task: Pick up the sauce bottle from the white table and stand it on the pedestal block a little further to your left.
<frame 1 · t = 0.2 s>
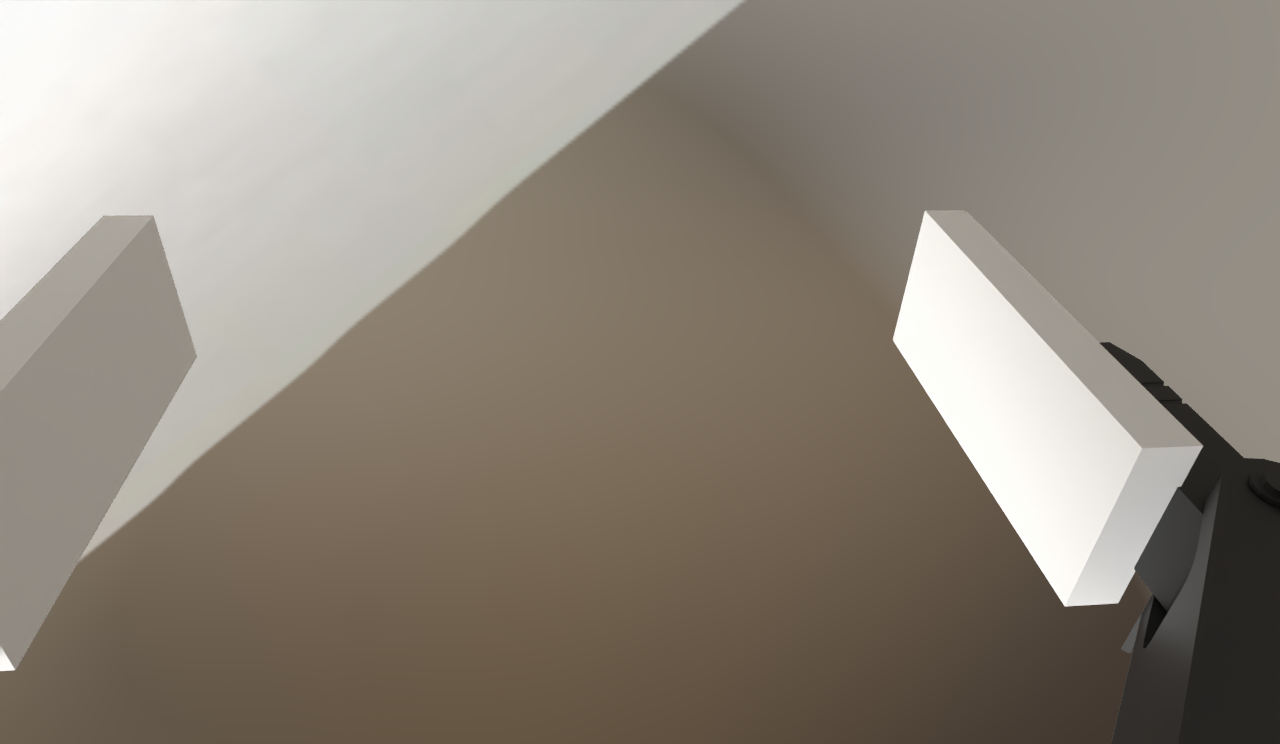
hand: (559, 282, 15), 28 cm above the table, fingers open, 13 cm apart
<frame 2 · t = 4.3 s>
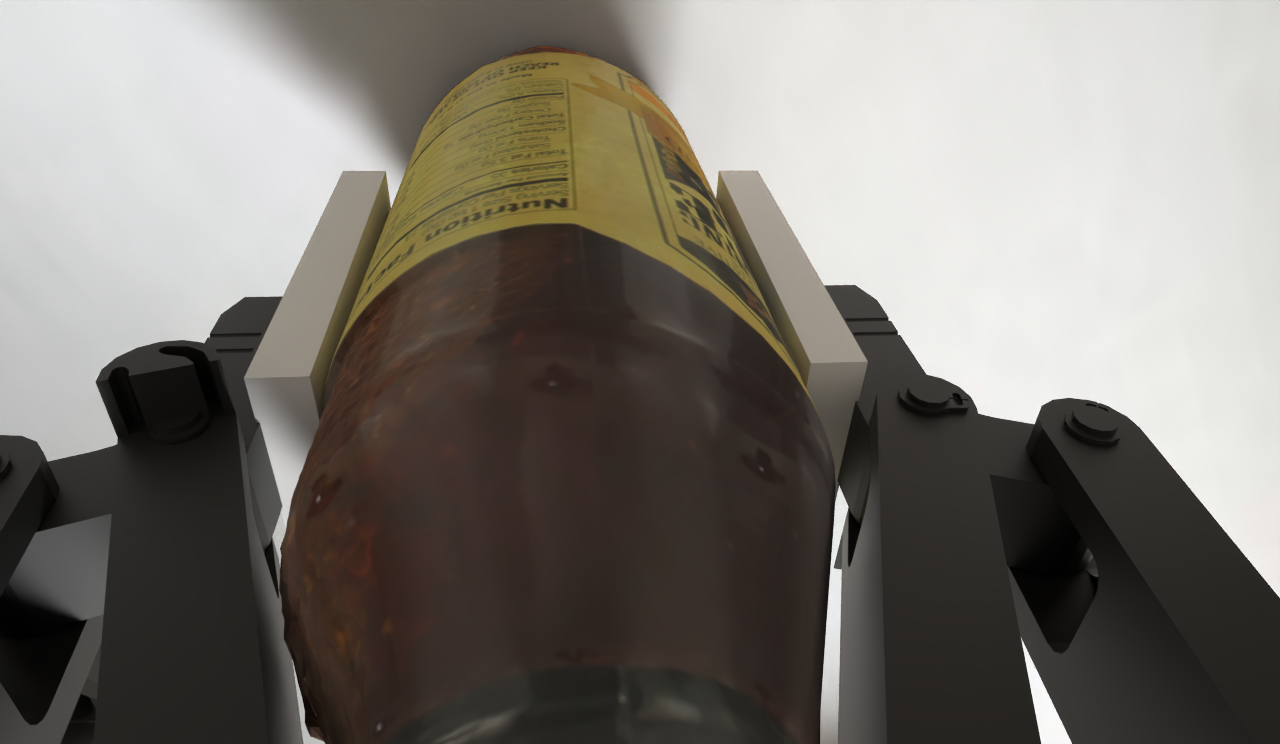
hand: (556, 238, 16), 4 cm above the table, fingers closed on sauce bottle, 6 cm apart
sauce bottle: (552, 160, 20), on the table, touching gripper
when the fingers open (8 cm above the table, at t = 11.2 s): sauce bottle stays where it is, resting on pedestal.
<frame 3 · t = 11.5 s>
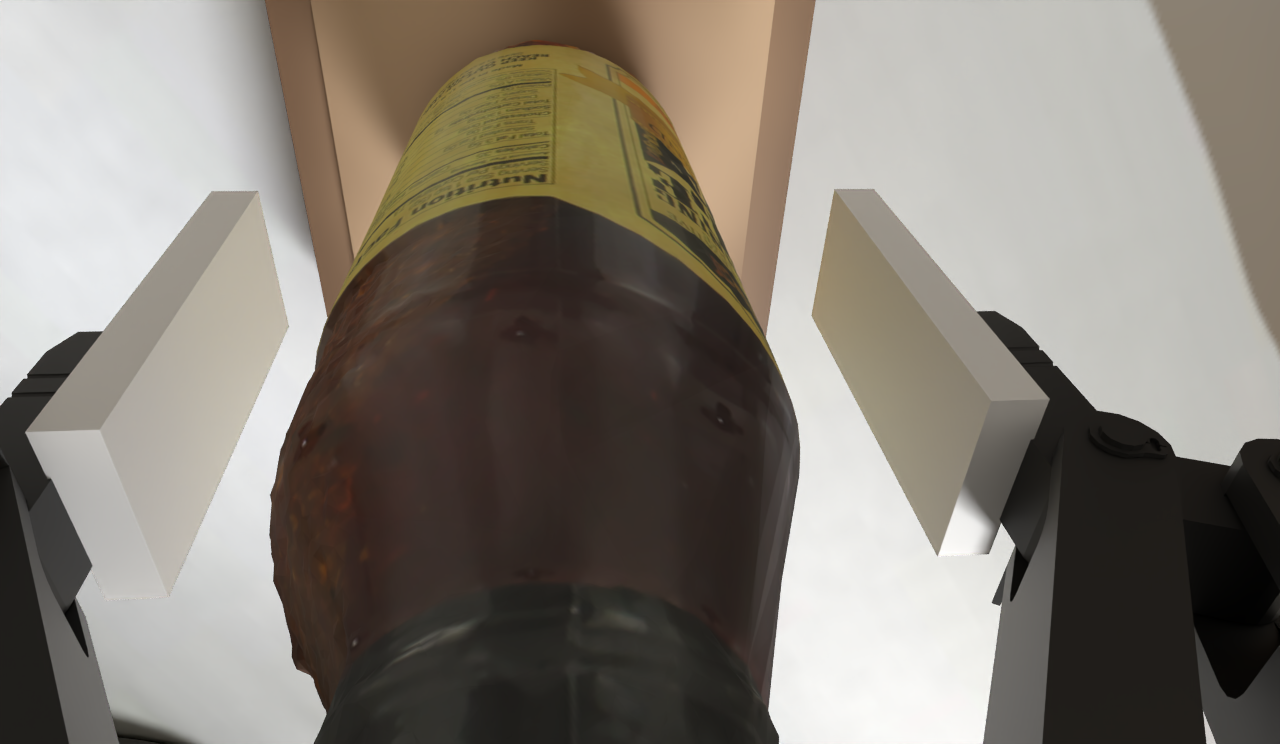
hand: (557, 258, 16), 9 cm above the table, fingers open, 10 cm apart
pedestal: (549, 109, 23), on the table
sauce bottle: (545, 151, 20), point 3 cm above the table, touching pedestal
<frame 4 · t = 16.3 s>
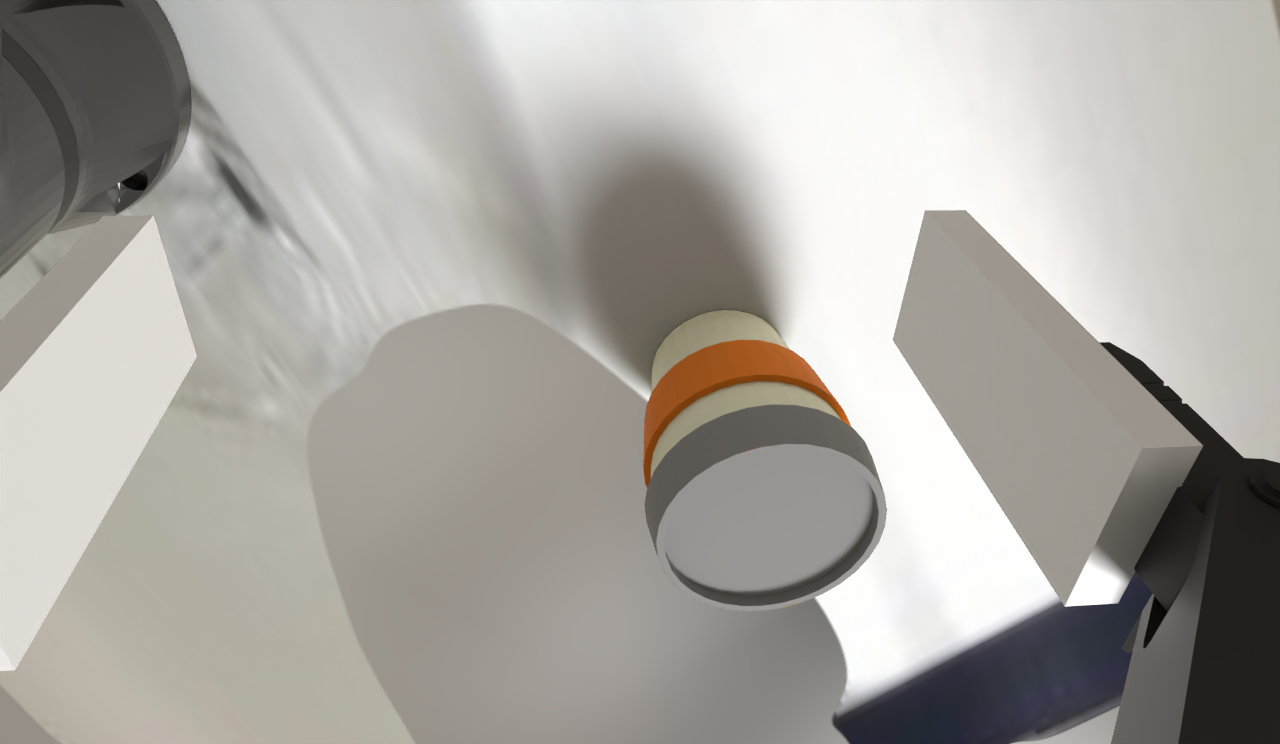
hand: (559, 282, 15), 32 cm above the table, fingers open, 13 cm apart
reusable coffee cup: (718, 366, 56), on the table
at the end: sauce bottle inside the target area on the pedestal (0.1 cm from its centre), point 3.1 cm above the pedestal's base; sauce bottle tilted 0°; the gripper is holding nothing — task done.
